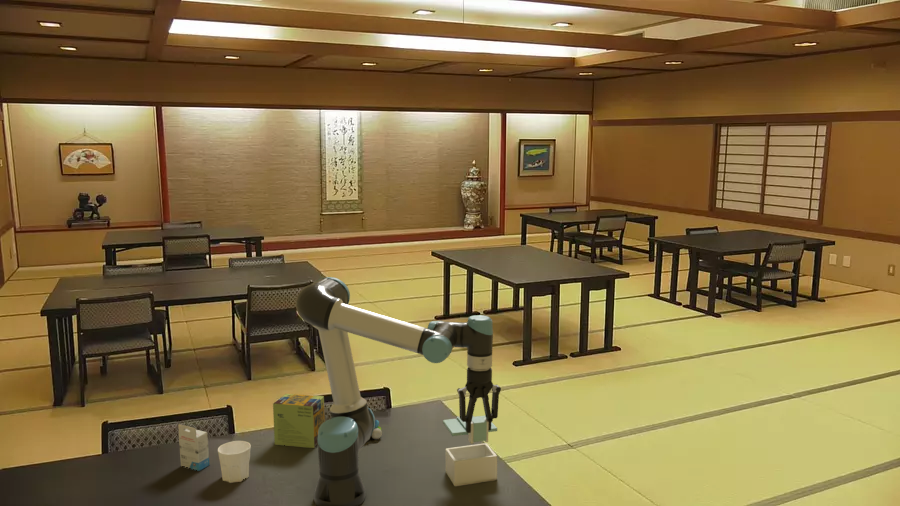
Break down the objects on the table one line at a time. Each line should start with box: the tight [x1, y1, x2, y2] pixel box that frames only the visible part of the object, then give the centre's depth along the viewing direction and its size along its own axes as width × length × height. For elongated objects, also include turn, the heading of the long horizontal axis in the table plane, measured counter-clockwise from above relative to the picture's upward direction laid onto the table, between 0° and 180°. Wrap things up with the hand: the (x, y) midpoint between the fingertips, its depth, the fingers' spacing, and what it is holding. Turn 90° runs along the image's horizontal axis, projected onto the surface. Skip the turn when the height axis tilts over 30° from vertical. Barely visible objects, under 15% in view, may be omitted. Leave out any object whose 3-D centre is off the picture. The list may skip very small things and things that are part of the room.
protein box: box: [272, 393, 326, 449], centre depth 245 cm, size 10×15×16 cm
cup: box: [217, 440, 252, 484], centre depth 219 cm, size 10×10×10 cm
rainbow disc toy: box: [366, 419, 383, 442], centre depth 249 cm, size 8×10×7 cm
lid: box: [442, 415, 498, 443], centre depth 214 cm, size 15×15×6 cm
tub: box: [445, 442, 498, 487], centre depth 218 cm, size 14×10×8 cm
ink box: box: [177, 423, 210, 472], centre depth 226 cm, size 9×5×15 cm, turn 62°
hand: (478, 441), depth 209 cm, fingers closed on lid, 4 cm apart
